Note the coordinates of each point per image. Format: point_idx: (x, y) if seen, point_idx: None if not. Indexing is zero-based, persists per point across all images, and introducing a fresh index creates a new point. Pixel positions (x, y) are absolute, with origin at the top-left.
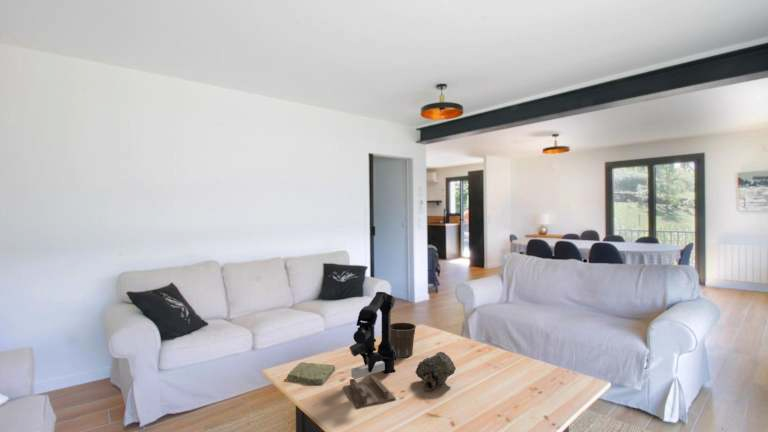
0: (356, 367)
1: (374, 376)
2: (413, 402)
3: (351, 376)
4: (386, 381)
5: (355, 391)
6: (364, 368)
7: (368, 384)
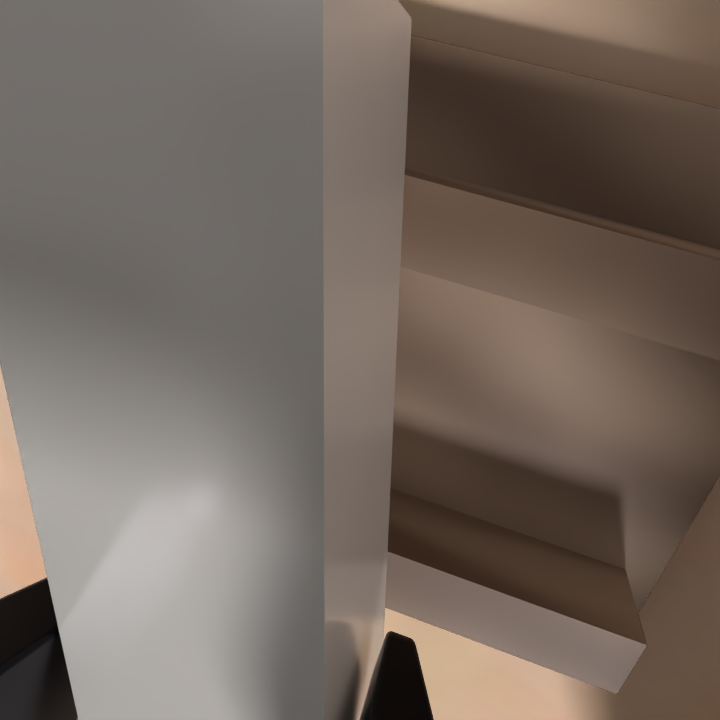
0: (307, 307)
1: (563, 669)
2: (3, 555)
3: (401, 14)
4: (517, 707)
5: (470, 185)
6: (36, 501)
7: (574, 509)
